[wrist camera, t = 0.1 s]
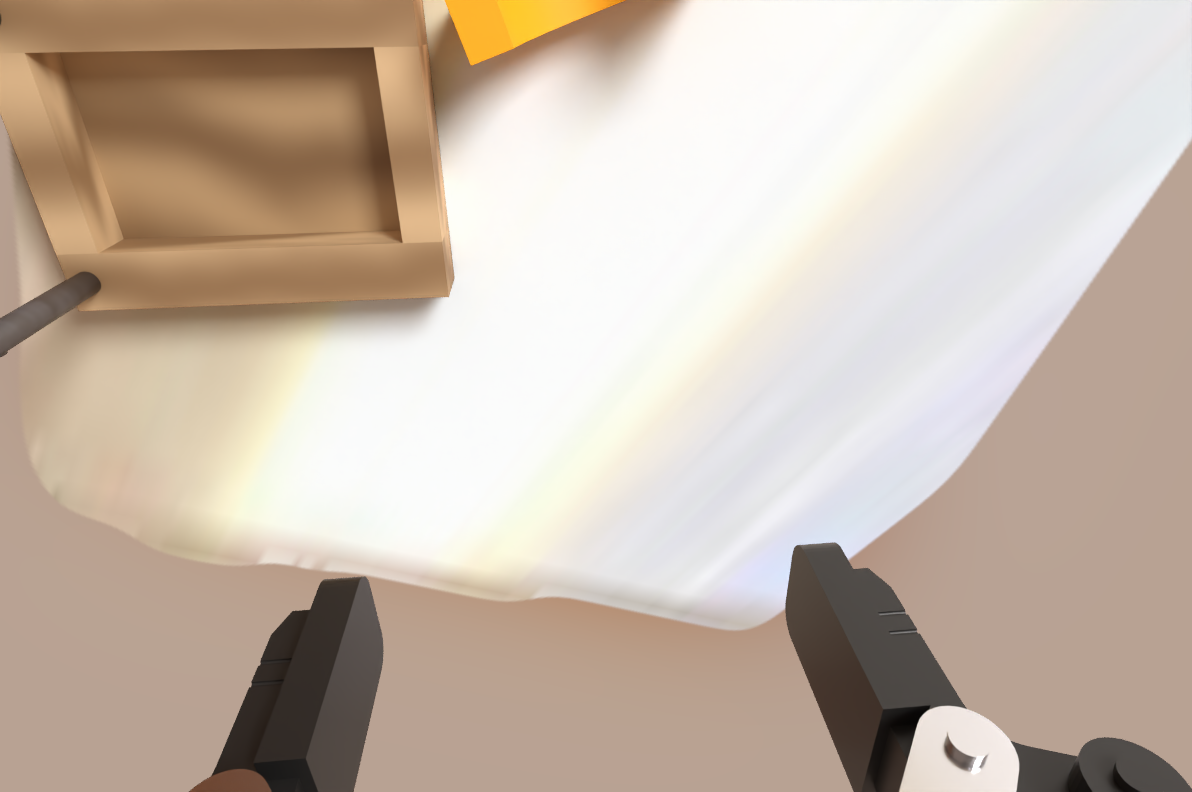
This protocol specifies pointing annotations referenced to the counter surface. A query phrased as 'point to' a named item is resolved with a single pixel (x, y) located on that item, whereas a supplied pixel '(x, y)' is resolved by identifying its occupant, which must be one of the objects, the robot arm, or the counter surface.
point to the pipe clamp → (513, 22)
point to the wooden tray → (225, 152)
